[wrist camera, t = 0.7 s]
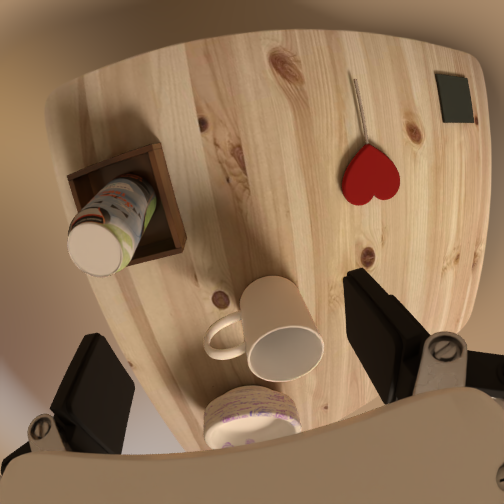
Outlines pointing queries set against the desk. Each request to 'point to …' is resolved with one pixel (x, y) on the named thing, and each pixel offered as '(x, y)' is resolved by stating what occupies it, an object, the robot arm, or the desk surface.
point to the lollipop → (369, 172)
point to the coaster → (455, 99)
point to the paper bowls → (249, 417)
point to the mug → (272, 331)
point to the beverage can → (111, 225)
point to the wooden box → (156, 173)
